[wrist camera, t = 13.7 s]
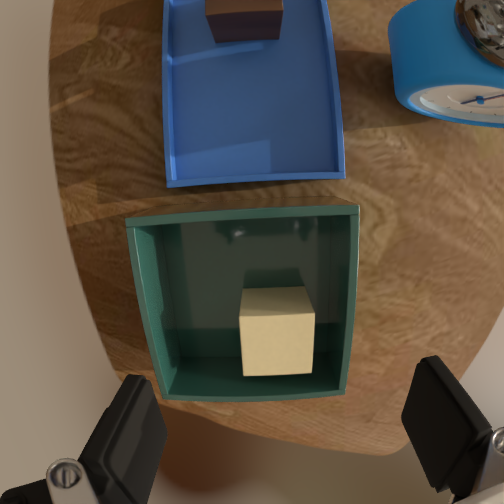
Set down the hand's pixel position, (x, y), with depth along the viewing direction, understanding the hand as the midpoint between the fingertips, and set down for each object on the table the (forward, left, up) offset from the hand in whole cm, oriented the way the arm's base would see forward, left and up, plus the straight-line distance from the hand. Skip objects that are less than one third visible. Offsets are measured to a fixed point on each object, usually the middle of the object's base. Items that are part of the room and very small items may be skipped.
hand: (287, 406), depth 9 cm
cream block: (+4, 0, -15) cm, 16 cm away
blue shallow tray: (-16, -1, -16) cm, 23 cm away
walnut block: (-21, -1, -15) cm, 26 cm away
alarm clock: (-15, +15, -16) cm, 27 cm away
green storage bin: (+2, -2, -16) cm, 16 cm away
